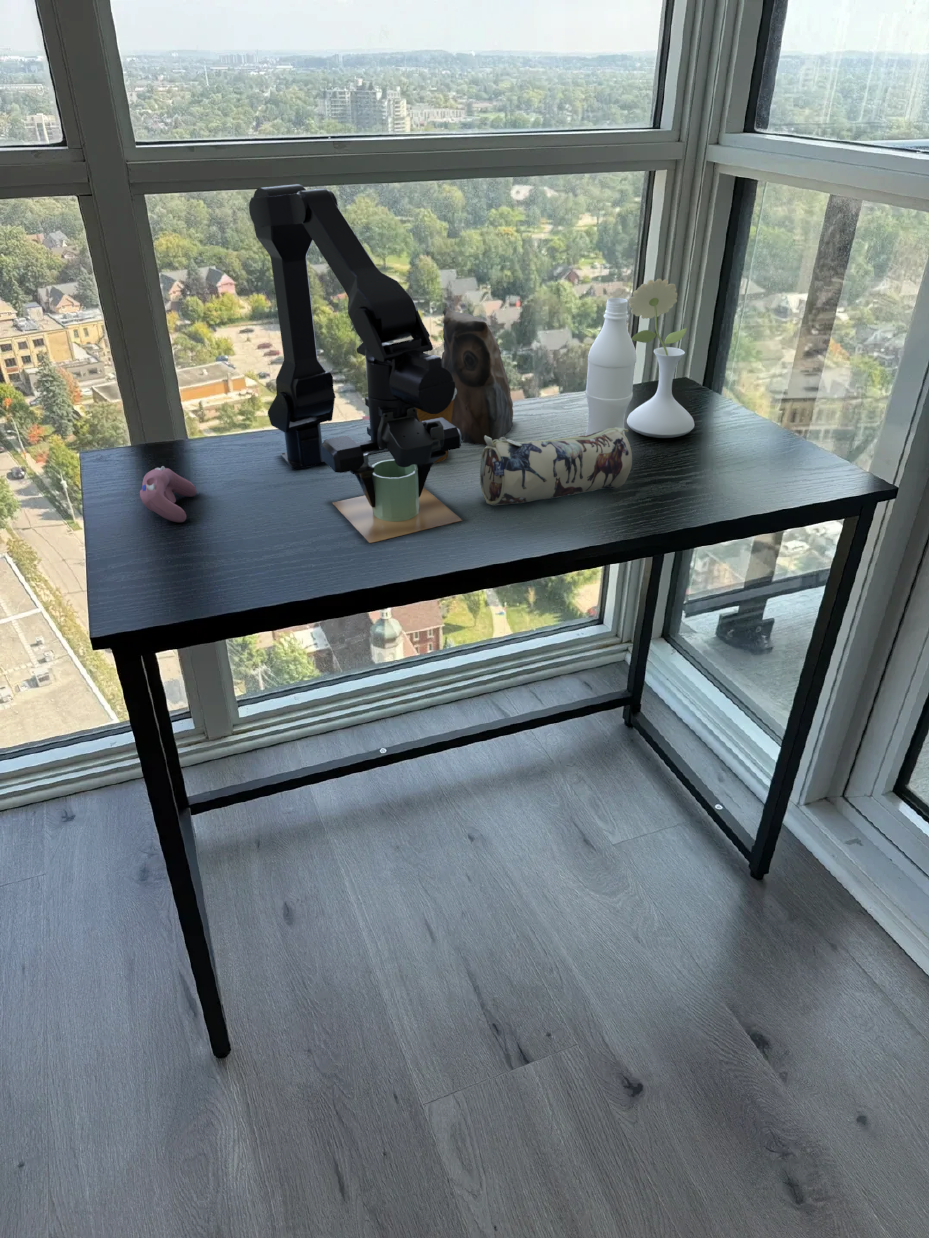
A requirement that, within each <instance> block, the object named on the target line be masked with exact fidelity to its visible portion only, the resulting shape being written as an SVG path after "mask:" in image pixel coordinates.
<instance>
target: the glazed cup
mask: <svg viewBox="0 0 929 1238" xmlns="http://www.w3.org/2000/svg"><path fill="white" fill-rule="evenodd" d="M371 466H372V467H373V468H374V472H373V475H372V478H373V485H374V492H375V507H373V508H372V510H373V514H374V516H375V517H377V518H378V519H381V520H384V521H392V522H397V521H405V520H408V519H411V518H413V517H415V516H416V515H417V514H418V513H419V488H418V467H417V465H415V464H414V465H410V466H409V467H400V466H398V465H397V464H396V463H395V460H394V458H393V459H385V460H380V461H378V462H376V463H373V464H372V465H371Z"/></svg>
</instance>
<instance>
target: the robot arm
mask: <svg viewBox="0 0 929 1238" xmlns="http://www.w3.org/2000/svg"><path fill="white" fill-rule="evenodd" d="M248 212H249V217H250V220H251V222H252V223H253V228H254V233H255V237H256V239H257V240H258V241H259V243H260V244H261V246H262V247H263V248H264V250H265V251H266V252H267V254H268V255H269V257H270V263H271V270H272V278H273V286H274V292H275V293H274V294H275V301H276V309H277V316H278V324H279V331H280V339H281V346H282V347H281V348H282V354H283V362H282V363H281V367H280V368H279V370H278V373H277V376H276V378H275V389H276V391H275V392H276V396H275V397H274V399H273V401H272V402H271V404H270V407H269V408H268V410H267V415H268V419H269V422H270V425H271V426H272V427H274V428H275V429H277V430H279V431H281V432H283V433H284V440H285V449H286V451H285V452H281V453H280V455H279V456H280V458H281V459H282V460H283V461H284V462H285V463H286V464H287V465H288V466H289V467H290V469H292V470H294V471H295V470H300V469H305V468H311V467H314V466H320V465H324V464H325V465H327V466H328V467H329V468H330V469H331V470H332V471H333V472H335V473H338V474H343V473H347V472H350V473H351V474H352V475H354V476H355V478H356V480H357V482H358V483H359V486H360V488H361V490H362V492H363V494H364V495H365V496H366V498H367V500H368V502H369V504H370V506H371V507H372V508H373V507H375V492H374V485H373V478H372V475H373V472H374V468H373V467H372V465H371V464H370V462H369V461H370V460H369V457H370V456H372V455H379V454H383V453H390V455H391V456H392V458H393V459H394V460H395V463H396V464H397V465H398V466H400V467H409V466H410V465H414V464H415V465H417V467H418V488H419V497H420V496H421V493H422V490H423V487H424V488H425V485H426V481H427V478H428V476H429V473H430V471H431V469H432V467H433V465H434V464H435V463H434V462H435V461H436V460H437V459H438V458H440V457H443V456H445V454H446V452H445V451H448V452H449V451H453V450H457V449H461V447H462V440H461V433H460V430H459V429H458V428H457V427H456V426H454V425H453V424H451V423H450V422H448V421H447V420H445V419H444V418H436V419H431V420H426V421H421V422H420V421H419V419H418V416H417V409H420V410H422V411H424V412H427V413H429V414H438V413H440V412H442V411H444V410H445V409H446V408H447V407H448V406H449V404H450V403H451V401H452V399H453V396H454V393H455V382H454V381H453V377H452V375H451V374H450V372H449V371H448V370H447V369H445V368H443V367H442V364H441V358H442V356H438V355H437V354H436V355H435V354H428V353H426V352H430V351H433V349H434V347H433V344H432V342H431V339H430V337H431V335H430V333H429V331H428V329H427V328H426V326H425V324H424V322H423V319H422V317H421V315H420V313H419V310H418V308H417V305H416V303H415V301H414V299H413V298H412V297H411V295H410V294H409V293H408V292H407V290H406V289H405V288H404V287H403V286H402V285H401V284H400V282H399V281H398V280H396V279H394V278H392V277H391V276H389V275H387V274H385V273H383V272H381V270H379V268H378V266H377V265H376V264H375V263H374V261H373V260H372V258H371V256H370V255H369V253H368V252H367V249H365V247H364V245H363V244H362V242H361V241H360V239H359V238H358V236H357V234H356V233H355V231H354V230H353V229H352V227H351V225H350V224H349V222H348V220H347V219H346V217H345V216H344V215H343V213H342V212H341V210H340V209H339V203H338V201H337V197H336V195H335V194H334V192H333V191H331V190H329V189H327V188H317V189H306V188H305V187H304V186H303V184H299V183H295V184H284V185H275V186H265V187H258V188H256V189H255V191H254V193H253V196H252V197H250V199H249V203H248ZM312 243H314V244H315V246H316V247H317V249H318V251H319V252H320V254H321V256H322V257H323V259H324V260H325V262H326V263H327V265H328V266H329V268H330V269H331V272H332V273H333V274H334V276H335V278H336V280H337V281H338V282H339V284H340V285H341V287H342V289H343V290H344V292H345V294H346V296H347V315H348V317H349V320H350V321H351V323H352V325H353V328H354V331H355V333H356V335H358V337H359V339H360V340H361V341H362V343H360V344H359V345H358V346H357V347H356V353H357V354H359V355H362V356H364V357H365V371H366V372H365V373H366V384H367V396H366V397H364V405H365V406H366V407H368V415H369V416H368V417H369V426H366V434H367V435H368V436H369V437H370V440H364V441H358V442H356V441H355V440H354V439H353V438H352V437H351V436H350V435H342V436H338V437H333V438H328V439H324V440H323V438H322V428H321V424H322V423H325V422H332V421H333V416H334V409H335V408H334V407H335V402H336V401H335V400H336V394H335V389H334V376H333V375H332V373H331V372H330V371H327V370H326V369H325V368H324V366H323V365H322V364H321V362H320V361H319V358H318V352H317V343H316V335H315V334H316V333H315V325H314V316H313V307H312V298H311V288H310V279H309V270H308V262H307V254H308V252H309V250H310V248H311V246H312ZM409 337H411V339H407V338H409ZM404 339H407V340H404ZM399 340H403V341H399ZM394 341H399V342H394ZM390 342H394V343H390ZM416 408H417V409H416Z"/></svg>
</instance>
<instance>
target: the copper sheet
mask: <svg viewBox="0 0 929 1238" xmlns="http://www.w3.org/2000/svg"><path fill="white" fill-rule="evenodd" d="M331 504H332V505H333V506H334V507H335V508H336V509H337V510H338V511H339V512H340V514H342V516H343V517H345V518H346V520H347V521H348V522H349V523H350V524H351V525H352V526H353V528H354V529H356V530H357V532H358V533H359V534H360V535H361V536H362V537H363V538H364V539H365V540H366V541H367V543H369V544H374V543H378V542H381V541H386V540H389V539H390V540H391V539H394V538H399V537H402V536H406V535H410V534H414V533H419V532H422V531H426V530H427V531H428V530H430V529H434V528H438V527H443V526H447V525H451V524H454V523H458V522H463V519H462V518H460V516H458V515H457V514H456V513H454V511H452V510H451V509H450V508H449V507H448V506H447V505H445V504H444V503H443V502H442V501H441V500H439V499H438V498H437V497H436V496H435V495H433V494H432V493H431V492H430V491H429V490H427V489H426V488H425V486H424V487H423V490H422V493H421V496H420V497H419V513H418V514H417V515H416V516H415V517H413V518H411V519H408V520H405V521H397V522H392V521H384V520H381V519H378V518H377V517H375V516H374V514H373V510H372V507H371V506H370V504H369V502H368V500H367V498H366V496H365V494H364V495H360V496H356V497H350V498H347V499H342V500H337V501H333V502H331Z"/></svg>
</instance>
